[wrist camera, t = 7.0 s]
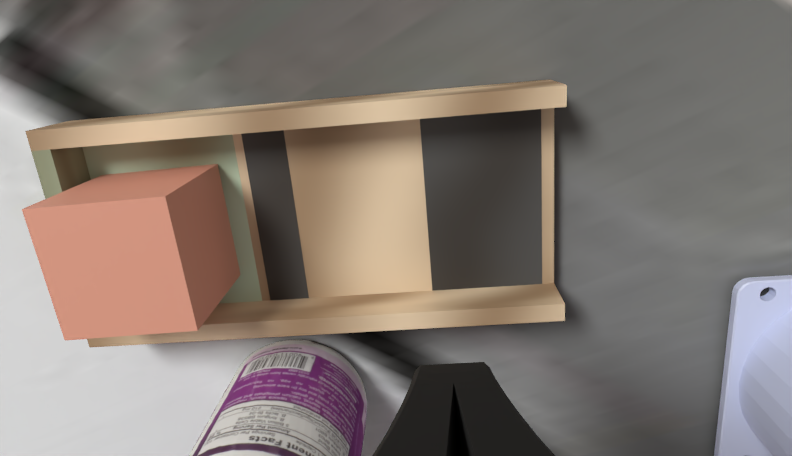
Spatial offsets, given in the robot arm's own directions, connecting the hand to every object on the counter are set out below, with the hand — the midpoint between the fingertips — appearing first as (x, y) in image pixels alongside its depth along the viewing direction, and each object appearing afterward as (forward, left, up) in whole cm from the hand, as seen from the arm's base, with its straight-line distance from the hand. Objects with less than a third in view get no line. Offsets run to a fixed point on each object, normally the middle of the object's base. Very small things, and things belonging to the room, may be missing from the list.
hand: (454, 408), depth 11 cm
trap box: (+4, -2, -9) cm, 10 cm away
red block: (+9, -1, -9) cm, 13 cm away
